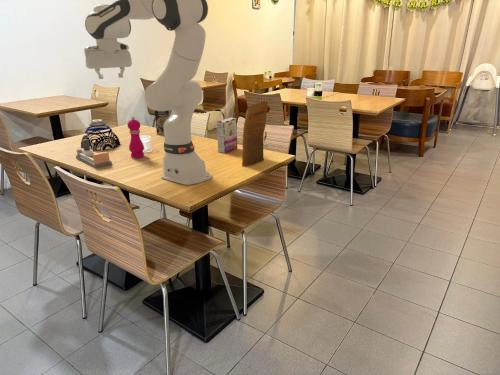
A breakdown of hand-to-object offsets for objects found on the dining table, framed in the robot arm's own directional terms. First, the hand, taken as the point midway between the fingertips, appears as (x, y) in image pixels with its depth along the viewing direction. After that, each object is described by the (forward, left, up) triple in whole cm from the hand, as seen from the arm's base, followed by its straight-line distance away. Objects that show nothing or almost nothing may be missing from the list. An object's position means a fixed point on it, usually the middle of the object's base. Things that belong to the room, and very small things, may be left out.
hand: (111, 78), depth 173 cm
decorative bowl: (+31, -3, -39) cm, 50 cm away
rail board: (+6, +11, -38) cm, 40 cm away
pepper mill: (-2, -8, -39) cm, 39 cm away
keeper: (+12, +12, -37) cm, 40 cm away
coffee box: (+30, -45, -39) cm, 66 cm away
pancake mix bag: (-51, -42, -39) cm, 76 cm away
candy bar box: (-26, -47, -39) cm, 66 cm away
